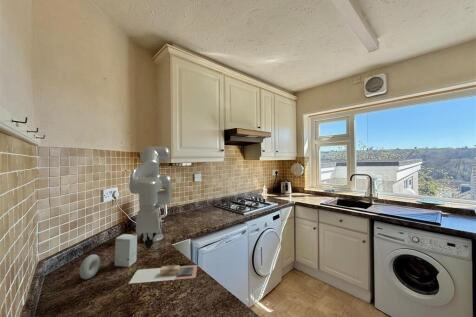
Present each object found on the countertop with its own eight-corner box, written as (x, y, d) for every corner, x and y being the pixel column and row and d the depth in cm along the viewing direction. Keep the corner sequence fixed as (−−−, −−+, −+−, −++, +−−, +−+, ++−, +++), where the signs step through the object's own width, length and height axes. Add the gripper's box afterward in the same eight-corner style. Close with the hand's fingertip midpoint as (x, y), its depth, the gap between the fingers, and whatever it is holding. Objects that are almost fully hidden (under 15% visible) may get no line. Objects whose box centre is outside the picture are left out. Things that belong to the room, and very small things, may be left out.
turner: (159, 278, 85) (159, 271, 85) (162, 270, 91) (162, 264, 91) (192, 275, 87) (192, 269, 87) (193, 268, 92) (193, 262, 92)
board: (137, 272, 92) (137, 269, 92) (197, 267, 95) (197, 265, 95) (128, 286, 82) (128, 283, 82) (195, 280, 85) (195, 277, 85)
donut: (95, 270, 93) (94, 250, 93) (102, 270, 93) (101, 250, 93) (77, 284, 83) (76, 261, 83) (85, 284, 83) (84, 261, 83)
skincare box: (114, 268, 95) (113, 238, 95) (123, 261, 101) (122, 233, 101) (129, 269, 94) (129, 239, 94) (137, 262, 100) (137, 234, 100)
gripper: (167, 204, 92) (168, 242, 93) (134, 205, 90) (135, 243, 91) (163, 209, 84) (164, 250, 85) (127, 210, 82) (128, 252, 83)
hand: (149, 246), depth 88 cm, fingers closed
